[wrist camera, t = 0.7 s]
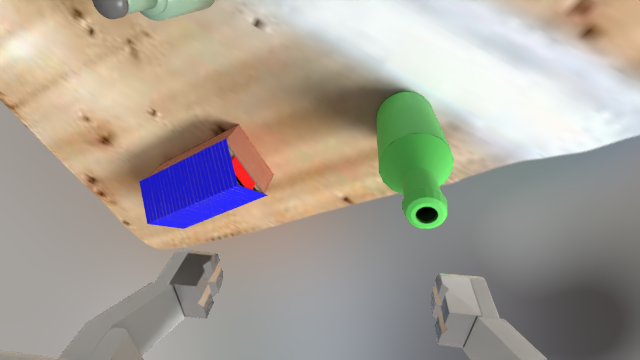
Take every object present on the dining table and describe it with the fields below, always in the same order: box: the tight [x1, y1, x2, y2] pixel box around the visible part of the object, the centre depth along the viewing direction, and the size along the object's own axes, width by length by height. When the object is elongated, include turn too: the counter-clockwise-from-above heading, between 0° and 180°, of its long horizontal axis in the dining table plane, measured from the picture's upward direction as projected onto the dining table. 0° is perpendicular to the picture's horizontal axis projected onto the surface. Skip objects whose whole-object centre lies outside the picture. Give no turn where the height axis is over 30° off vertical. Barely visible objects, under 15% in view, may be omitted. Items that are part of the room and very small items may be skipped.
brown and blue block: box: [140, 125, 274, 229], centre depth 58 cm, size 12×20×12 cm, turn 119°
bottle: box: [376, 92, 454, 229], centre depth 42 cm, size 9×9×25 cm
